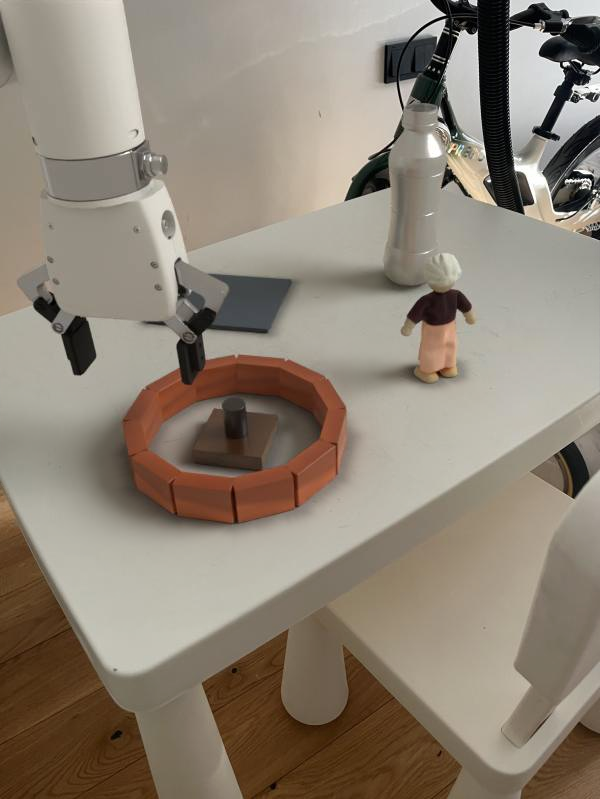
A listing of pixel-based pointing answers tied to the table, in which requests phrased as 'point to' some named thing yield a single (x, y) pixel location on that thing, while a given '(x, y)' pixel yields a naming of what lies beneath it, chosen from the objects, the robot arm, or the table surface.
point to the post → (236, 437)
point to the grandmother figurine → (438, 318)
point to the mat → (245, 302)
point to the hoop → (251, 490)
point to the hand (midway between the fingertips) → (138, 371)
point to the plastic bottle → (414, 195)
